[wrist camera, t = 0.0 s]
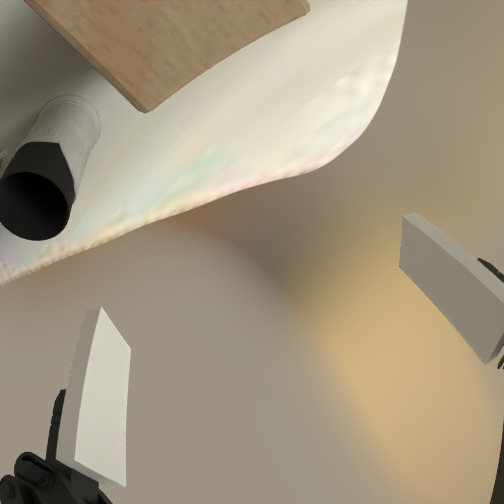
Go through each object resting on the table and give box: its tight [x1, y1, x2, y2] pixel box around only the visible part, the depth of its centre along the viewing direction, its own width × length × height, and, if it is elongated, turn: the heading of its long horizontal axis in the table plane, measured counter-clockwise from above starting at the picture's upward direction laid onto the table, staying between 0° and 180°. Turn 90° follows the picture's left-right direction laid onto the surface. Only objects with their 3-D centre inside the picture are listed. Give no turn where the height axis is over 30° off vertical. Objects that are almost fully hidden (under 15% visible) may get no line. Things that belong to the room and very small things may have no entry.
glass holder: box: [0, 95, 101, 241], centre depth 23 cm, size 9×14×15 cm, turn 74°
